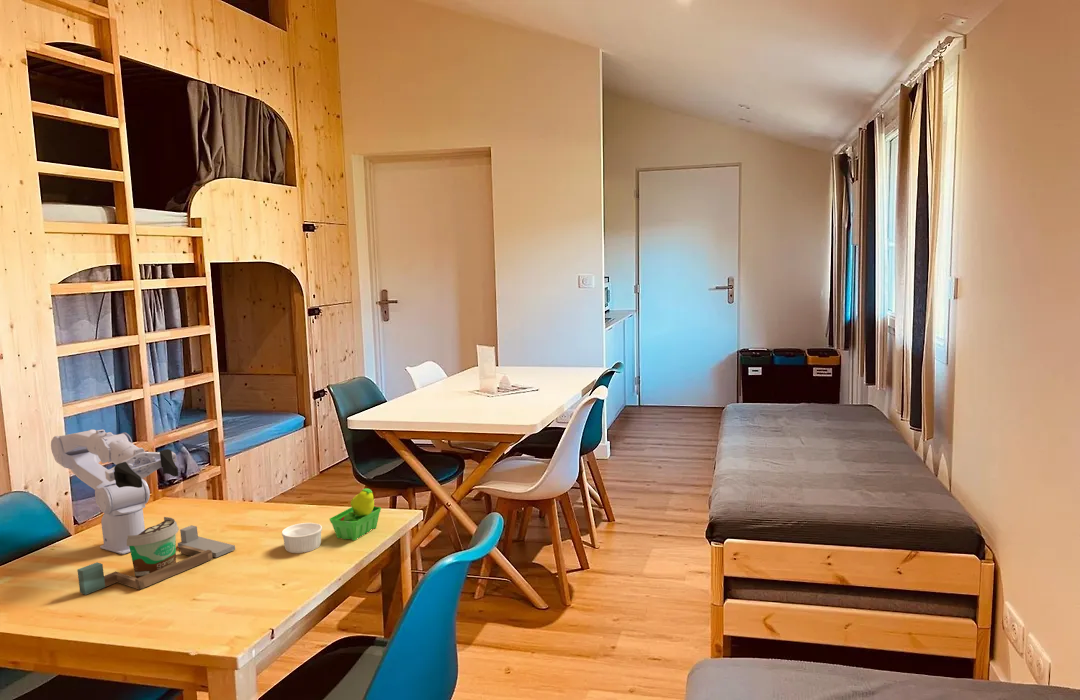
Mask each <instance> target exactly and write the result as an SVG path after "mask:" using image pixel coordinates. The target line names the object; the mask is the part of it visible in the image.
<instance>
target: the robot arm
mask: <svg viewBox="0 0 1080 700" xmlns="http://www.w3.org/2000/svg"><path fill="white" fill-rule="evenodd" d="M50 449H51V452H52V455H53V458H54V460H55V462H56V463H58V464H59V465H60V466H61V467H63V468H65V469H69V470H70V471H71V472H72V474H73V475H74V476H76V477H77V479H78V480H80V481H81V482H83V483H84V484H86V485H87V486H88V487H90V488H91V489H93V490H94V500H95V504H96V505H97V506H98V507H99V510H100V511H101V512H102V513H104V514H103V515H102V517H101V521H100V523H101V530H102V531H101V532H102V539H103V541H102V542H103V544H102V545H100V546H99V548H100V549H103V550H106V551H109V552H112V553H116V554H120V555H125V554H128V553H131V552H130V547H129V546H127V539H128V536H133V535H138V534H140V533H141V532H143V531H144V530H145V529H146V528H145V519H144V508H146V504H147V503H149V500H150V497H151V495H150V494H151V493H150V492H151V491H150V488H149V485H148V483H147V481H146V479H145V478H147V477H148V476H150V475H152V474H153V473H155V472H156V471H157V470H159V469H160V468H162V475H170V476H172V477H178V476H179V470H178V469H179V468H178V466H177V465H176V463H177V454H176V453H175V452H174V451H172V450H171V449H169V448H166V449H162V450H160V451H157V452H156V451H145V449H144V448H143V447H139V446H137V445H136V444H134V443H133V440H132V437H131V436H130V434H129V433H127V432H121V433H118V434H115V433H114V434H113V432H111V431H109V432H106V430H105V429H97V430H96V429H89V430H85V431H79V432H75V433H70V434H64V435H54V436H53V437H52V438H51V441H50ZM100 462H101V463H103V464H106V463H113V464H114V465H115V466H113V467H112V468H109V469H108V468H107V467H105V466H104V465H102V464H101V463H100Z"/></svg>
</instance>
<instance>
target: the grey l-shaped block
mask: <svg viewBox="0 0 1080 700" xmlns="http://www.w3.org/2000/svg"><path fill="white" fill-rule="evenodd" d="M179 531H180V540H181V541H179V542H177V548H179V549H180V546H183V545H186V546H190V547H193V548H197V549H201V550H205V551H206V550H211V551H212V558H219V557H222V556H223V555H226V554H229V553H231V552H233V551H235V550H236V546H235V545H234V544H230V543H227V542H223V541H219V540H215V539H211V538H207V537H202V536H199V534H198V533H199V532H198V527H197V526H195V525H188V526H185V527H183V528H181V529H179Z"/></svg>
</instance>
